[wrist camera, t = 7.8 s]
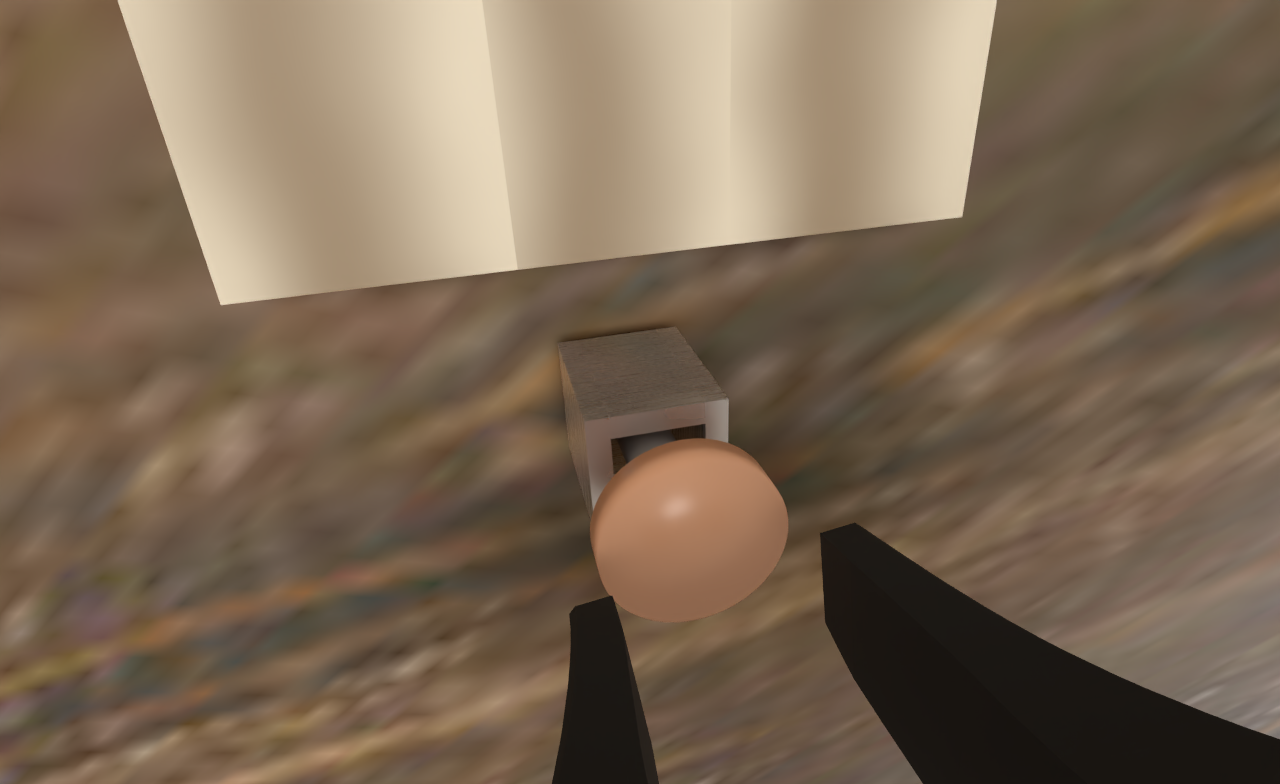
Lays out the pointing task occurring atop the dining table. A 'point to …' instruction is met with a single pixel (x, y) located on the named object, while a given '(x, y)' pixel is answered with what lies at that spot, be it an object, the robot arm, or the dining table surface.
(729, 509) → the cap
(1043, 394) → the dining table surface
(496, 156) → the block
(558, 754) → the robot arm
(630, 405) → the plunger housing
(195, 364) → the dining table surface
